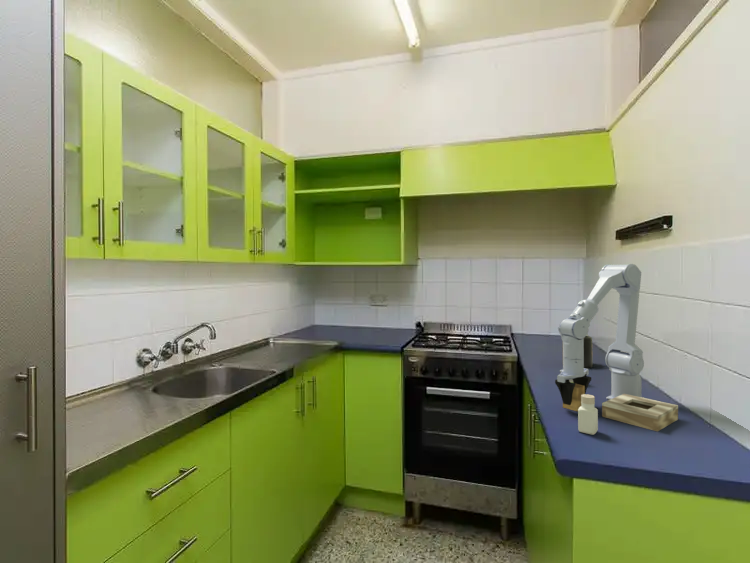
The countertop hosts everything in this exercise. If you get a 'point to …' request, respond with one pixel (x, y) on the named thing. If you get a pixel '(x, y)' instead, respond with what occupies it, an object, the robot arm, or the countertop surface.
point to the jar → (586, 352)
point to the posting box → (640, 411)
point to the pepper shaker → (587, 415)
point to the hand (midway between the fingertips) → (573, 401)
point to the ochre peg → (576, 398)
